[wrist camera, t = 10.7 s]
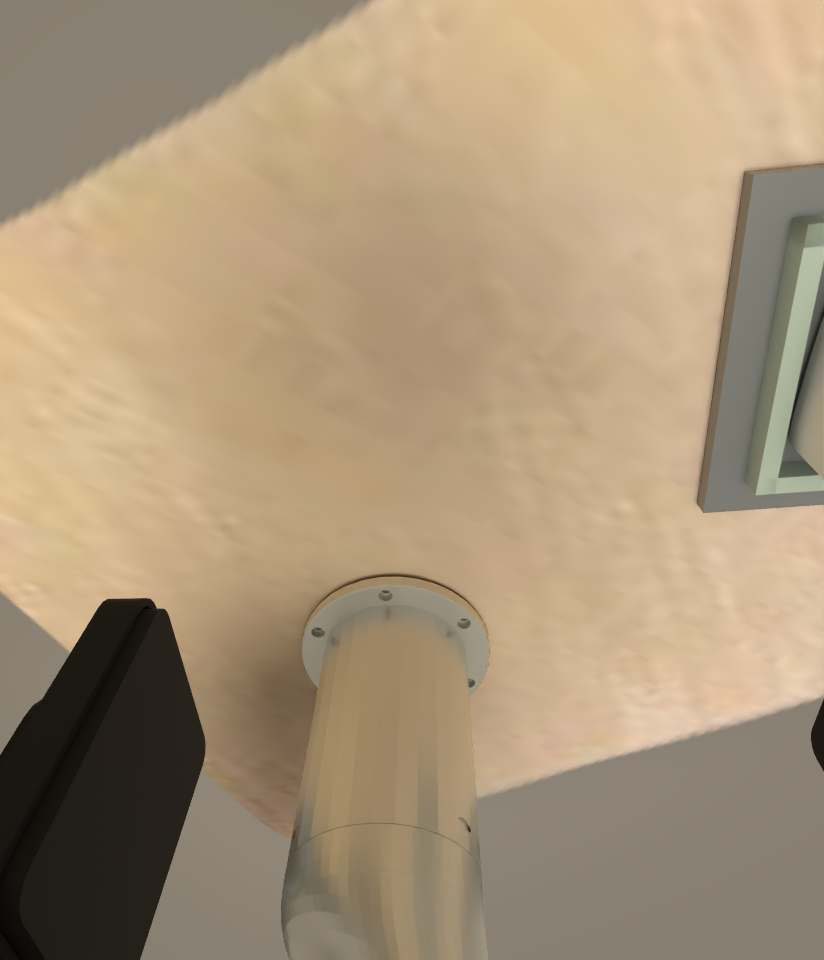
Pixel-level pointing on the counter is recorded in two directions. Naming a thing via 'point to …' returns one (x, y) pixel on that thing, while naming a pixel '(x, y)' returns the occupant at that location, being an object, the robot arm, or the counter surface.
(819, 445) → the photo printer
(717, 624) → the counter surface
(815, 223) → the dock
